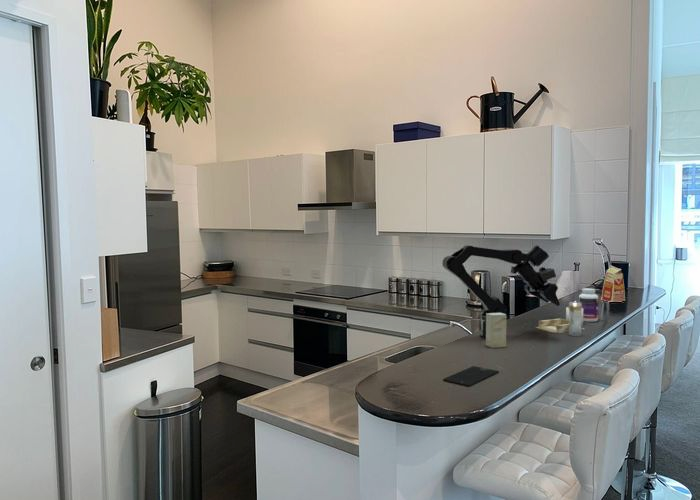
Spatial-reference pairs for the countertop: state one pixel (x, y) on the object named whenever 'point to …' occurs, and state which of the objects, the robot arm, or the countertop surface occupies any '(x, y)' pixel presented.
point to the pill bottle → (589, 304)
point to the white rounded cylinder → (568, 314)
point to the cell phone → (470, 376)
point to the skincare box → (495, 330)
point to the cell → (575, 318)
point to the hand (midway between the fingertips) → (553, 303)
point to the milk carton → (613, 286)
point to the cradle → (555, 325)
